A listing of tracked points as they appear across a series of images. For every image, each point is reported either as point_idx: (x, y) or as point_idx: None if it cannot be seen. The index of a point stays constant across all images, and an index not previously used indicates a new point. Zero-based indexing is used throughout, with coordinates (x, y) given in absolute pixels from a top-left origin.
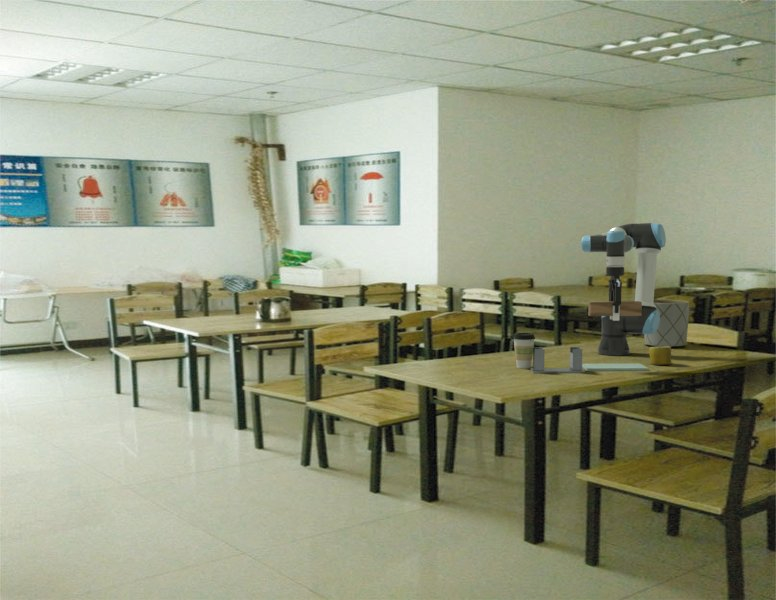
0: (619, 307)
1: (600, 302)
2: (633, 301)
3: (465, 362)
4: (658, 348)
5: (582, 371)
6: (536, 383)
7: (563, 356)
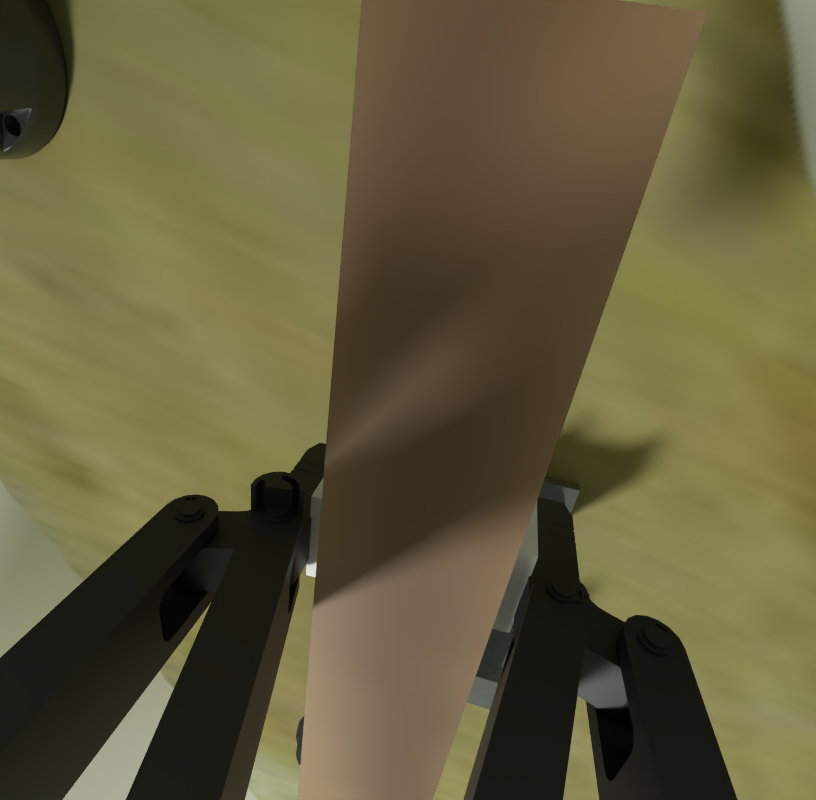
0: (535, 532)
1: (435, 787)
2: (427, 224)
3: (269, 711)
4: None
5: (575, 498)
6: (730, 722)
7: (120, 379)
